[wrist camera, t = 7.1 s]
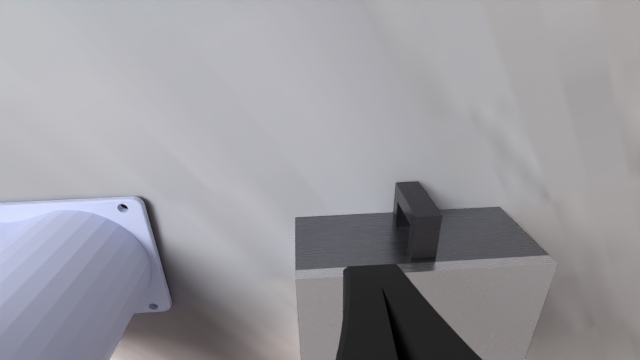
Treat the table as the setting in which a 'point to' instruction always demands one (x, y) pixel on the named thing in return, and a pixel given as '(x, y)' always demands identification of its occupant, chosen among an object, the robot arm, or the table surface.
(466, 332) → the press
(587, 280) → the table surface
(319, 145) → the table surface
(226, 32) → the table surface
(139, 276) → the robot arm
